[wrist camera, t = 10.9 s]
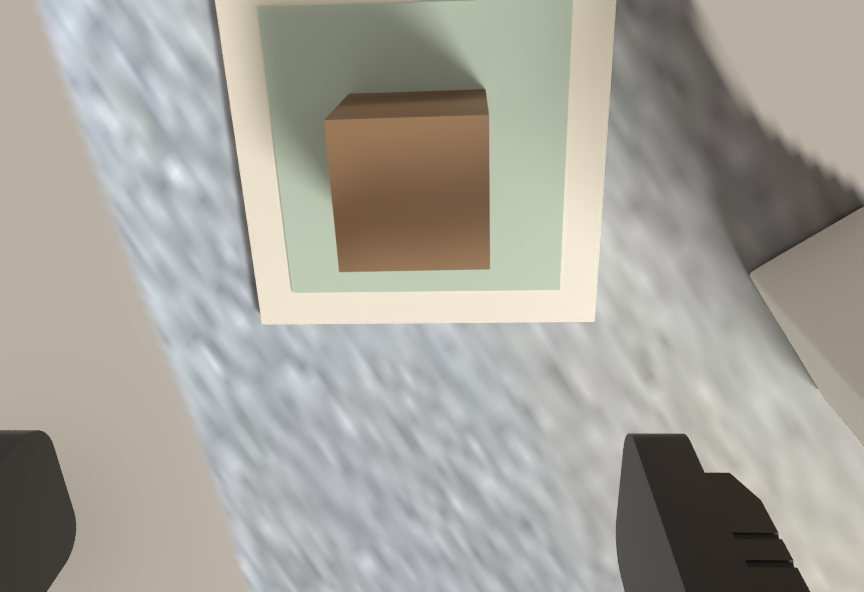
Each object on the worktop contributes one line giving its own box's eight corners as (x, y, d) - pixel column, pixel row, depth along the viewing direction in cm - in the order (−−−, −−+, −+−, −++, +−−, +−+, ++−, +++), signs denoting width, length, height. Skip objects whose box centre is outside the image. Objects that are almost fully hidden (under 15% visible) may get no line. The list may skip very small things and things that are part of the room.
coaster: (214, -38, 25) (208, -38, 25) (616, -53, 25) (620, -54, 24) (265, 318, 31) (261, 325, 31) (592, 315, 30) (594, 322, 30)
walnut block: (348, 93, 26) (323, 119, 22) (485, 89, 26) (489, 114, 22) (359, 223, 28) (339, 272, 24) (486, 220, 28) (490, 269, 24)
